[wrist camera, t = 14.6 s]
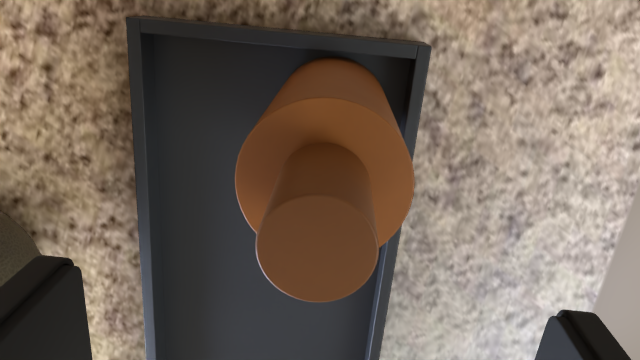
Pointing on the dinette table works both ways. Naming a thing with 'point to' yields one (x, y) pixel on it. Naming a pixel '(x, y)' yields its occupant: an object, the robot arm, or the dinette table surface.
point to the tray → (220, 194)
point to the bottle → (324, 180)
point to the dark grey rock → (14, 248)
